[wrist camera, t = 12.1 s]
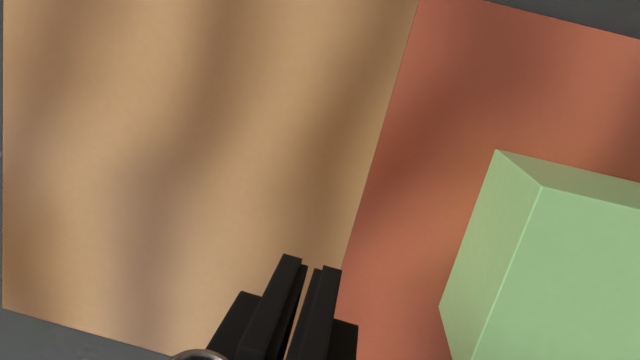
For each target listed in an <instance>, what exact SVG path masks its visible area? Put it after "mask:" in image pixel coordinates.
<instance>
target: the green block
mask: <svg viewBox="0 0 640 360" xmlns="http://www.w3.org/2000/svg"><path fill="white" fill-rule="evenodd" d="M439 311H440V314H441V318H442V322H443V326H444V330H445V333H446V337H447V341H448V345H449V348H450V352H451V356H452V360H640V183H638V182H634V181H629V180H625V179H621V178H617V177H613V176H608V175H604V174H600V173H596V172H592V171H587V170H583V169H579V168H575V167H571V166H566V165H562V164H558V163H554V162H550V161H545V160H541V159H537V158H533V157H529V156H525V155H520V154H516V153H512V152H508V151H504V150H499V149H496V150H495V151H494V154H493V157H492V160H491V163H490V165H489V168H488V171H487V174H486V176H485V179H484V182H483V185H482V187H481V190H480V193H479V196H478V199H477V201H476V204H475V207H474V210H473V212H472V215H471V218H470V221H469V224H468V226H467V229H466V232H465V235H464V237H463V240H462V243H461V246H460V248H459V251H458V254H457V257H456V260H455V262H454V265H453V268H452V271H451V273H450V276H449V279H448V282H447V284H446V287H445V290H444V293H443V296H442V298H441V301H440V304H439Z"/></svg>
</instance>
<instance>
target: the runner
mask: <svg viewBox="0 0 640 360" xmlns="http://www.w3.org/2000/svg"><path fill="white" fill-rule="evenodd" d="M496 149H499V150H504V151H508V152H512V153H516V154H520V155H525V156H529V157H533V158H537V159H541V160H545V161H550V162H554V163H558V164H562V165H566V166H571V167H575V168H579V169H583V170H587V171H592V172H596V173H600V174H604V175H608V176H613V177H617V178H621V179H625V180H629V181H634V182H638V183H640V40H639V39H635V38H631V37H627V36H624V35H620V34H616V33H612V32H608V31H604V30H600V29H596V28H592V27H588V26H584V25H580V24H576V23H572V22H568V21H564V20H560V19H556V18H552V17H548V16H544V15H540V14H536V13H532V12H528V11H524V10H520V9H516V8H512V7H508V6H504V5H500V4H496V3H492V2H488V1H484V0H4V33H3V239H2V308H4V309H7V310H11V311H15V312H18V313H22V314H25V315H29V316H32V317H36V318H39V319H43V320H46V321H50V322H53V323H57V324H60V325H64V326H67V327H71V328H74V329H78V330H81V331H85V332H88V333H92V334H95V335H99V336H103V337H106V338H110V339H113V340H117V341H120V342H124V343H127V344H131V345H134V346H138V347H141V348H145V349H148V350H152V351H155V352H159V353H162V354H166V355H169V356H174V355H175V354H178V353H180V352H183V351H185V350H191V349H206V347H207V345H208V344H209V342H210V340H211V339H212V337H213V335H214V334H215V332H216V330H217V329H218V327H219V325H220V324H221V322H222V320H223V319H224V317H225V315H226V314H227V312H228V310H229V309H230V307H231V306H232V304H233V302H234V301H235V299H236V297H237V296H238V294H239V293H240V291H245V292H248V293H251V294H255V295H258V296H261V297H262V295H263V293H264V291H265V289H266V287H267V285H268V283H269V281H270V279H271V277H272V275H273V273H274V271H275V269H276V267H277V265H278V263H279V261H280V259H281V257H282V255H283V253H285V254H288V255H291V256H295V257H298V258H302V264H304V265H307V266H308V270H307V274H306V278H305V281H304V285H303V289H302V293H301V296H300V300H299V304H298V308H297V311H296V315H295V319H294V323H293V326H292V330H291V334H290V338H289V342H288V345H287V349H286V352H285V356H284V359H283V360H285V359H286V356H287V352H288V349H289V346H290V343H291V340H292V337H293V334H294V330H295V327H296V324H297V321H298V318H299V315H300V312H301V308H302V305H303V302H304V299H305V296H306V293H307V290H308V286H309V283H310V280H311V277H312V274H313V271H314V268H317V269H321V270H322V268H323V265H326V266H329V267H333V268H336V269H340V270H342V275H341V281H340V286H339V292H338V297H337V302H336V308H335V313H334V318H335V319H339V320H342V321H345V322H349V323H352V324H355V325H358V326H359V330H358V342H357V354H356V360H452V356H451V352H450V348H449V345H448V341H447V337H446V333H445V330H444V326H443V322H442V318H441V314H440V311H439V304H440V301H441V298H442V296H443V293H444V290H445V287H446V284H447V282H448V279H449V276H450V273H451V271H452V268H453V265H454V262H455V260H456V257H457V254H458V251H459V248H460V246H461V243H462V240H463V237H464V235H465V232H466V229H467V226H468V224H469V221H470V218H471V215H472V212H473V210H474V207H475V204H476V201H477V199H478V196H479V193H480V190H481V187H482V185H483V182H484V179H485V176H486V174H487V171H488V168H489V165H490V163H491V160H492V157H493V154H494V151H495V150H496Z"/></svg>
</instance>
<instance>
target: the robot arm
mask: <svg viewBox="0 0 640 360" xmlns="http://www.w3.org/2000/svg"><path fill="white" fill-rule="evenodd" d="M307 270H308V266H307V265H304V264H302V258H298V257H295V256H291V255H288V254H285V253H283V255H282V257H281V259H280V261H279V263H278V265H277V267H276V269H275V271H274V273H273V275H272V277H271V279H270V281H269V283H268V285H267V287H266V289H265V291H264V293H263V295H262V297H261V296H258V295H255V294H251V293H248V292H245V291H240V293H239V294H238V296H237V297H236V299H235V301H234V302H233V304H232V306H231V307H230V309H229V310H228V312H227V314H226V315H225V317H224V319H223V320H222V322H221V324H220V325H219V327H218V329H217V330H216V332H215V334H214V335H213V337H212V339H211V340H210V342H209V344H208V345H207V347H206V349H191V350H185V351H183V352H180V353H178V354H175V355H174V356H173V357H171V358H170V359H169V360H283V359H284V356H285V352H286V349H287V345H288V342H289V338H290V334H291V330H292V326H293V323H294V319H295V315H296V311H297V308H298V304H299V300H300V296H301V293H302V289H303V285H304V281H305V278H306V274H307ZM341 275H342V270H340V269H336V268H333V267H329V266H326V265H323V268H322V270H321V269H317V268H314V271H313V274H312V277H311V280H310V283H309V286H308V290H307V293H306V296H305V299H304V302H303V305H302V308H301V312H300V315H299V318H298V321H297V324H296V327H295V330H294V334H293V337H292V340H291V343H290V346H289V349H288V352H287V356H286V359H285V360H356V354H357V342H358V330H359V326H358V325H355V324H352V323H349V322H345V321H342V320H339V319H335V318H334V313H335V308H336V302H337V297H338V292H339V286H340V281H341Z"/></svg>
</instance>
